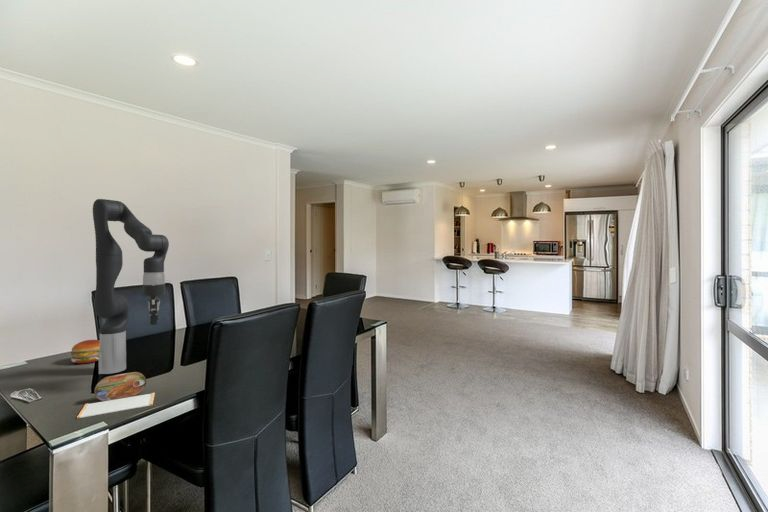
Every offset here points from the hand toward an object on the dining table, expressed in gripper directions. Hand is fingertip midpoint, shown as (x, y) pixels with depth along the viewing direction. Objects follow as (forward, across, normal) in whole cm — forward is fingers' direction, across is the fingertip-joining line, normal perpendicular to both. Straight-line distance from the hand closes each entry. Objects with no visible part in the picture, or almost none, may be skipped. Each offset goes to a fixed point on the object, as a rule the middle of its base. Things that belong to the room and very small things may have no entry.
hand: (154, 322), depth 144 cm
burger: (+24, -46, -28) cm, 59 cm away
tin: (+24, +14, -10) cm, 29 cm away
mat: (+24, +22, -9) cm, 33 cm away
